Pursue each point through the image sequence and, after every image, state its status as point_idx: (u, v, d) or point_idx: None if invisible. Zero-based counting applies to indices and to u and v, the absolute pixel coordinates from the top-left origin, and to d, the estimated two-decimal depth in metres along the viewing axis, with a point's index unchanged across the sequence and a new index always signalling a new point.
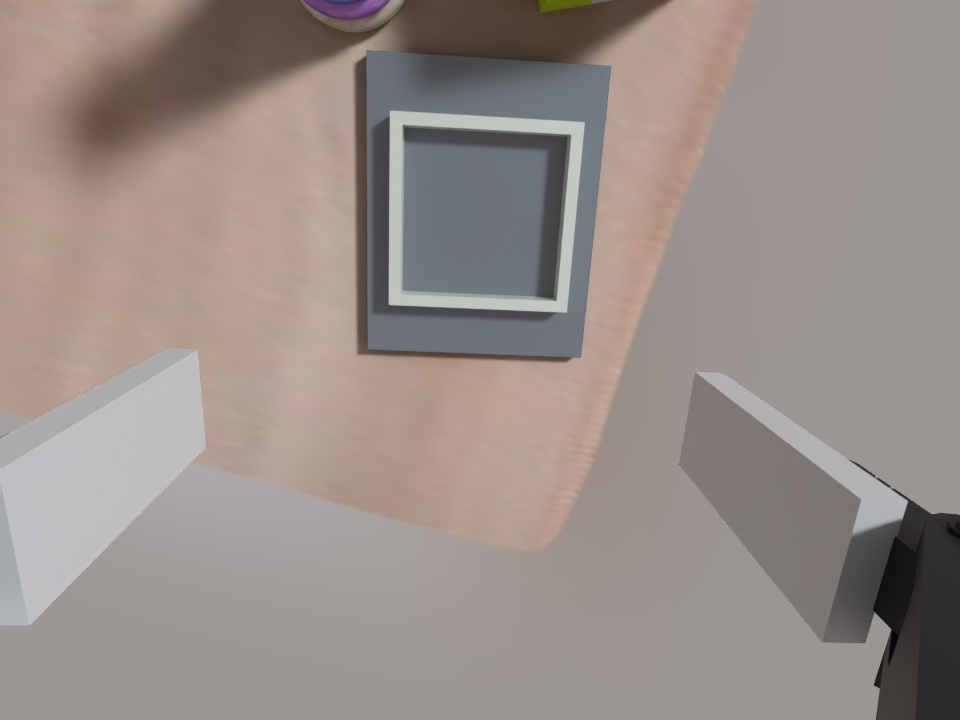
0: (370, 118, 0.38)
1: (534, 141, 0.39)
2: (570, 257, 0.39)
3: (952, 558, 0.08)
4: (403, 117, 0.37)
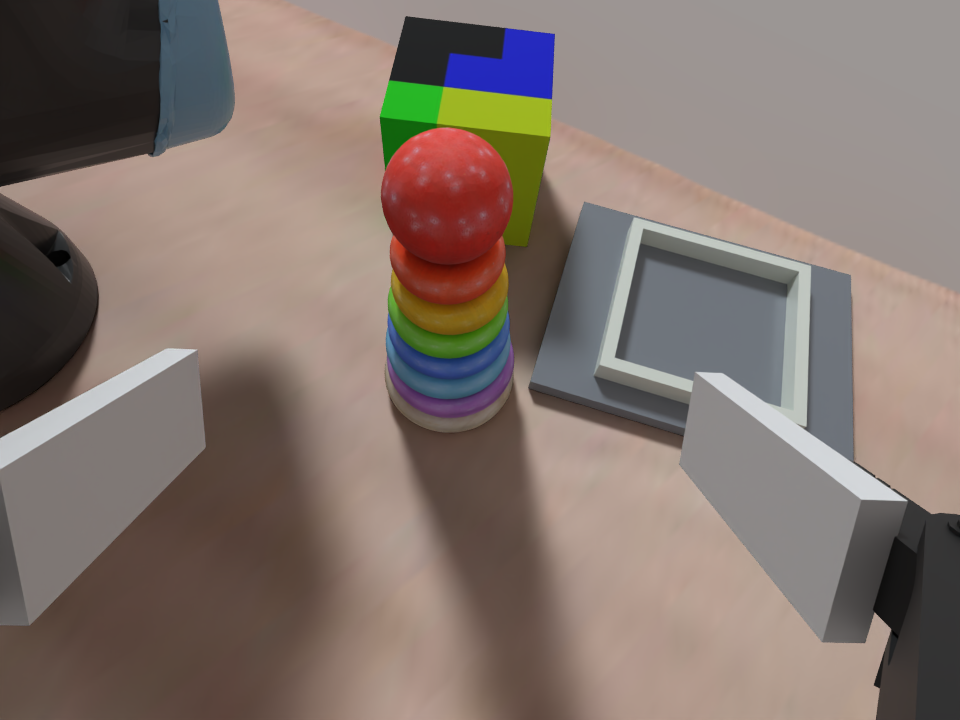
0: (594, 397, 0.35)
1: (637, 266, 0.40)
2: (755, 251, 0.40)
3: (952, 558, 0.08)
4: (607, 354, 0.35)
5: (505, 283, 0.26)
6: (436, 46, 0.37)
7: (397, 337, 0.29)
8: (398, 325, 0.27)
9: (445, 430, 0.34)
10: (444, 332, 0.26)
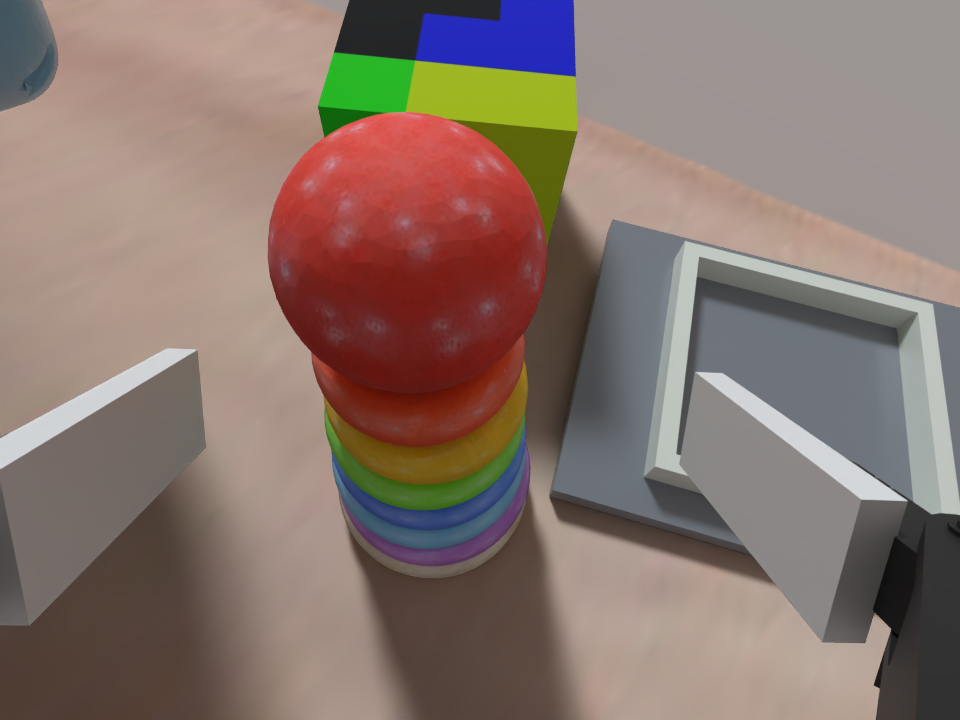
0: (647, 512, 0.24)
1: None
2: (854, 286, 0.29)
3: (952, 558, 0.08)
4: (666, 449, 0.24)
5: (523, 388, 0.15)
6: (405, 4, 0.25)
7: None
8: (340, 458, 0.16)
9: (429, 577, 0.22)
10: (417, 483, 0.14)
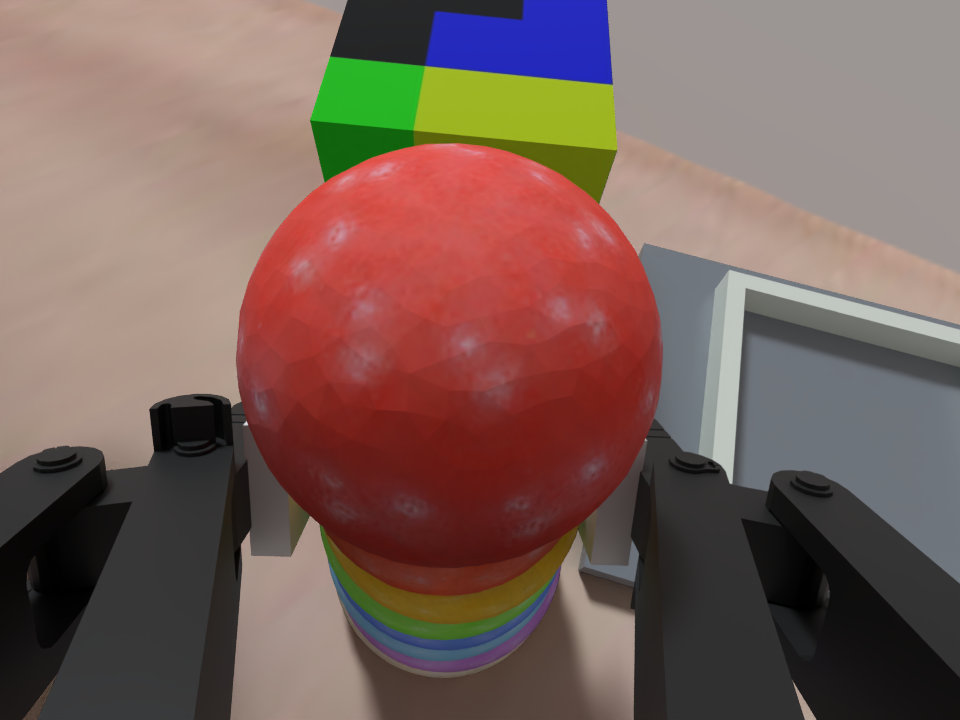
0: None
1: None
2: (924, 322, 0.25)
3: (674, 489, 0.09)
4: None
5: None
6: (413, 1, 0.22)
7: None
8: (338, 573, 0.12)
9: (441, 677, 0.19)
10: (442, 623, 0.11)
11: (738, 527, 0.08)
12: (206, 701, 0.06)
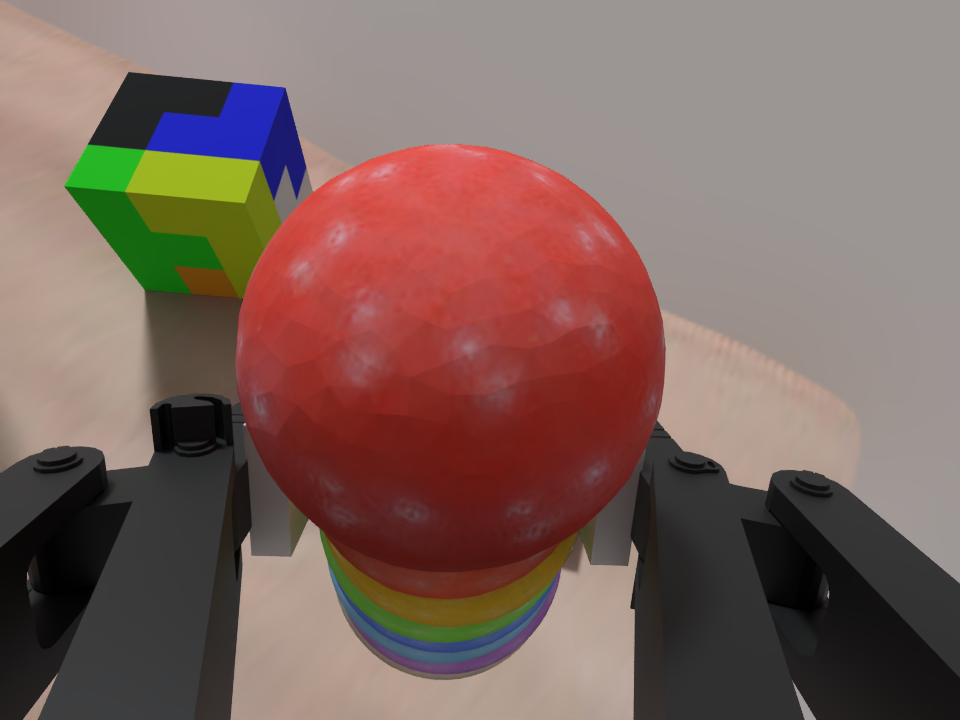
0: None
1: None
2: None
3: (674, 489, 0.09)
4: None
5: None
6: (152, 105, 0.35)
7: None
8: (338, 575, 0.12)
9: (441, 679, 0.19)
10: (442, 626, 0.11)
11: (738, 527, 0.08)
12: (207, 701, 0.06)
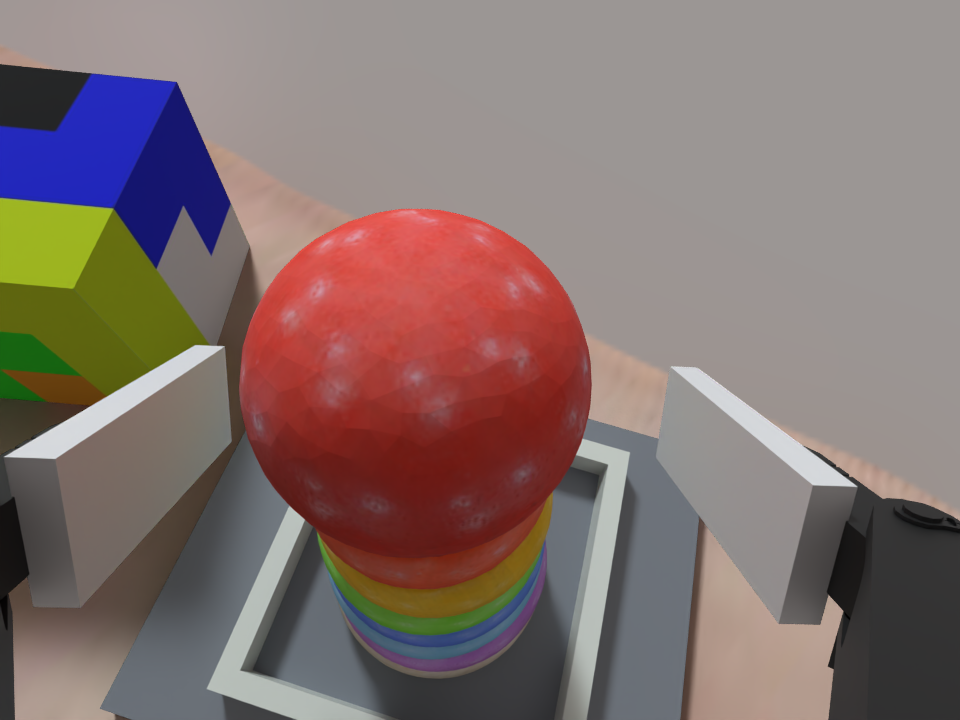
0: None
1: None
2: None
3: (898, 541, 0.08)
4: (229, 664, 0.20)
5: (548, 499, 0.13)
6: None
7: None
8: (334, 574, 0.14)
9: None
10: (424, 617, 0.12)
11: None
12: None
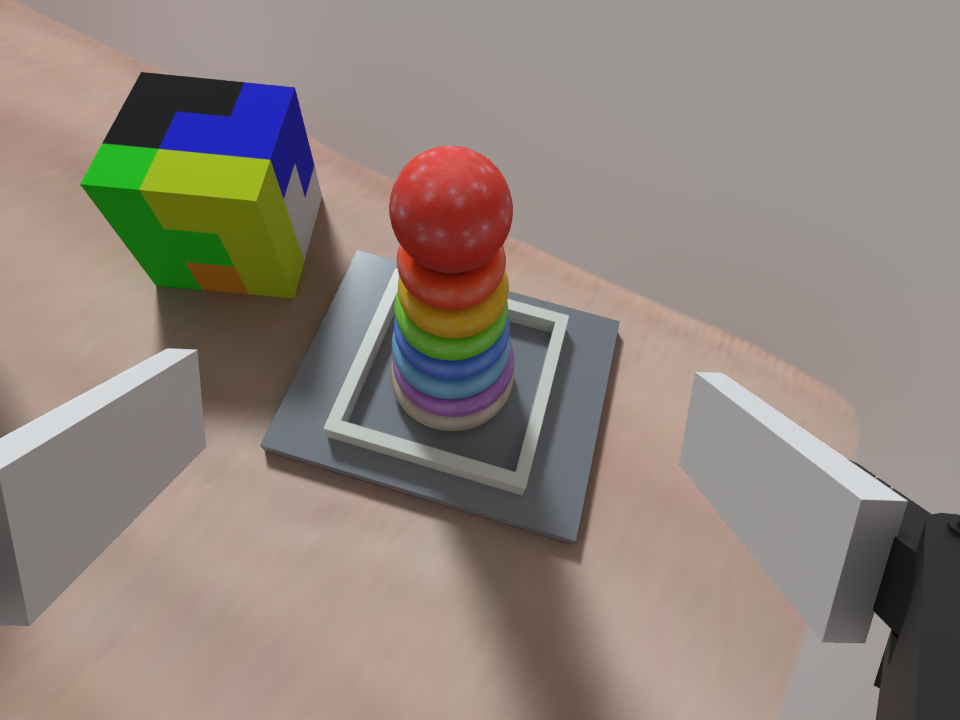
0: (323, 460, 0.35)
1: None
2: (514, 302, 0.39)
3: (952, 558, 0.08)
4: (334, 417, 0.35)
5: (505, 288, 0.28)
6: (164, 104, 0.36)
7: (403, 341, 0.30)
8: (405, 330, 0.29)
9: (449, 429, 0.35)
10: (449, 336, 0.27)
11: None
12: None
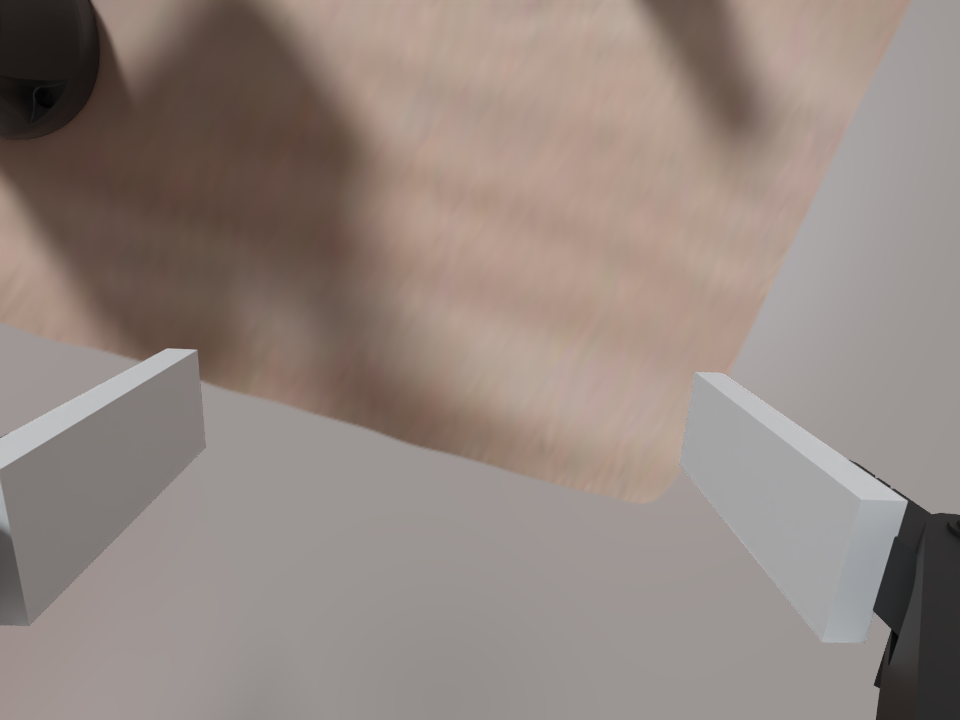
0: None
1: None
2: None
3: (952, 558, 0.08)
4: None
5: None
6: None
7: None
8: None
9: None
10: None
11: None
12: None
